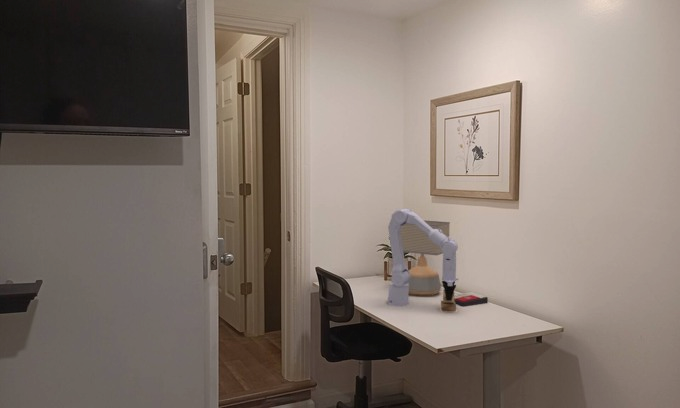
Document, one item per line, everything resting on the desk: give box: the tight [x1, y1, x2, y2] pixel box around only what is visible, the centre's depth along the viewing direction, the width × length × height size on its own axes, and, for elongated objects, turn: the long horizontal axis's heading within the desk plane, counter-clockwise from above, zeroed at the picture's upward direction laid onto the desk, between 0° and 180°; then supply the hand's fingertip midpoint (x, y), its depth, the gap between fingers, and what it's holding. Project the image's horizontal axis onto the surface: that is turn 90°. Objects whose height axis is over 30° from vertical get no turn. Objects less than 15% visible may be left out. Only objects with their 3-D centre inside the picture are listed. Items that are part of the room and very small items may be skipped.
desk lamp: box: [400, 219, 450, 297], centre depth 258 cm, size 22×19×37 cm
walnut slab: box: [440, 300, 457, 313], centre depth 227 cm, size 6×6×3 cm
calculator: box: [454, 291, 489, 307], centre depth 240 cm, size 11×4×15 cm
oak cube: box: [442, 289, 456, 303], centre depth 227 cm, size 4×4×4 cm
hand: (448, 298), depth 227 cm, fingers closed on oak cube, 4 cm apart
